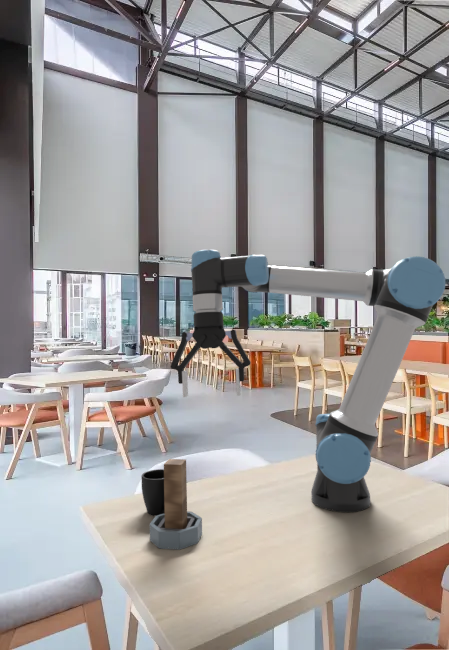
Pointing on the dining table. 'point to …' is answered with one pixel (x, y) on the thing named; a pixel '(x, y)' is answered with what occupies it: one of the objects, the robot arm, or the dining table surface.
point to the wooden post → (175, 494)
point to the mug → (153, 491)
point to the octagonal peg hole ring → (175, 532)
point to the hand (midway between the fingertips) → (212, 395)
